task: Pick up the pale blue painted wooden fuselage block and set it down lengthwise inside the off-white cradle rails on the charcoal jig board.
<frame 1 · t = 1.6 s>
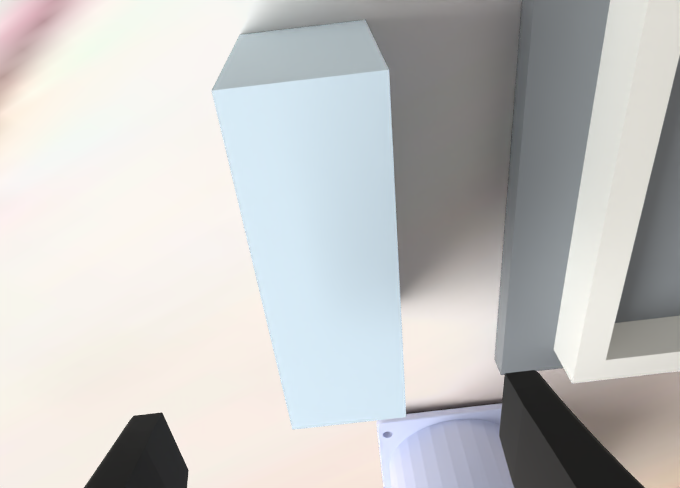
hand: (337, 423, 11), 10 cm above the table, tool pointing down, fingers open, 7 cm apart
fuselage block: (324, 192, 20), on the table
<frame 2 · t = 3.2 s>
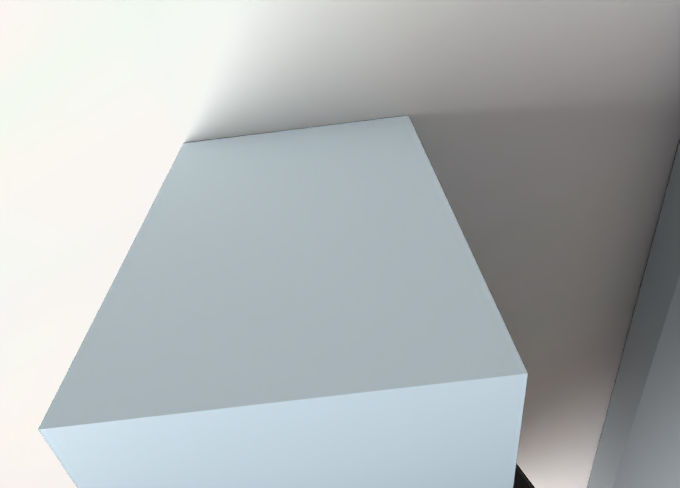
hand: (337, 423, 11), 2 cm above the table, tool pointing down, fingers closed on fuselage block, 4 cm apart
fuselage block: (334, 366, 13), on the table, touching gripper
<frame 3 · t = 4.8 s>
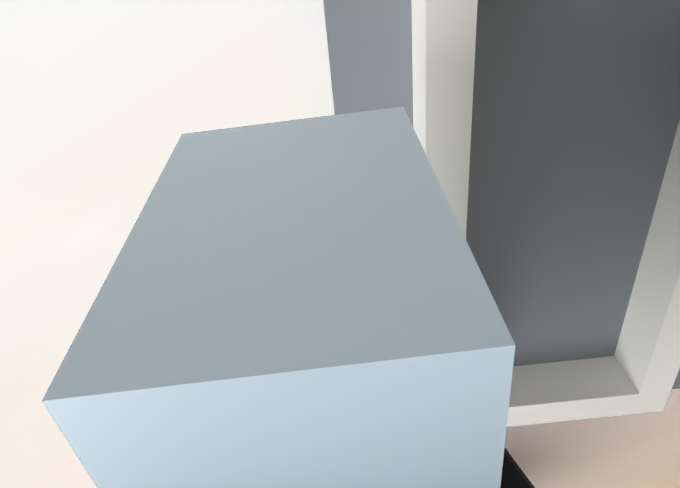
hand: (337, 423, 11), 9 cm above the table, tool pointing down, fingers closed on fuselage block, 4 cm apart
cradle jig: (542, 193, 18), on the table
fuselage block: (331, 357, 13), point 7 cm above the table, touching gripper
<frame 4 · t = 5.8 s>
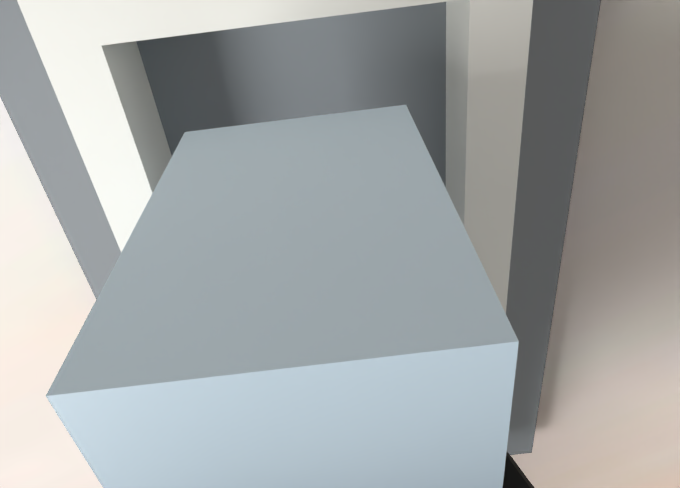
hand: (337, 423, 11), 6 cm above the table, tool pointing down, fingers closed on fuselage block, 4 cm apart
cradle jig: (327, 256, 16), on the table
fuselage block: (333, 355, 13), point 4 cm above the table, touching gripper
when the fingers open (4 cm above the table, at t = 6.6 s): fuselage block drops 1 cm, resting on cradle jig.
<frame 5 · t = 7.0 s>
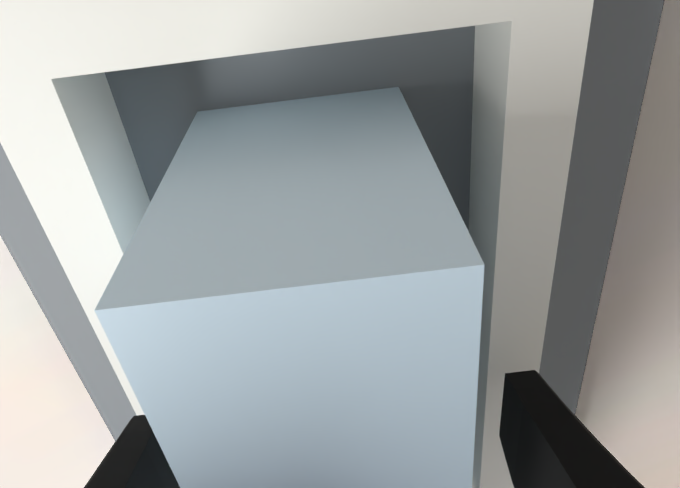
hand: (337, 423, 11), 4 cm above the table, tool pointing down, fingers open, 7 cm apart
cradle jig: (331, 302, 15), on the table
fuselage block: (332, 324, 14), point 1 cm above the table, touching cradle jig
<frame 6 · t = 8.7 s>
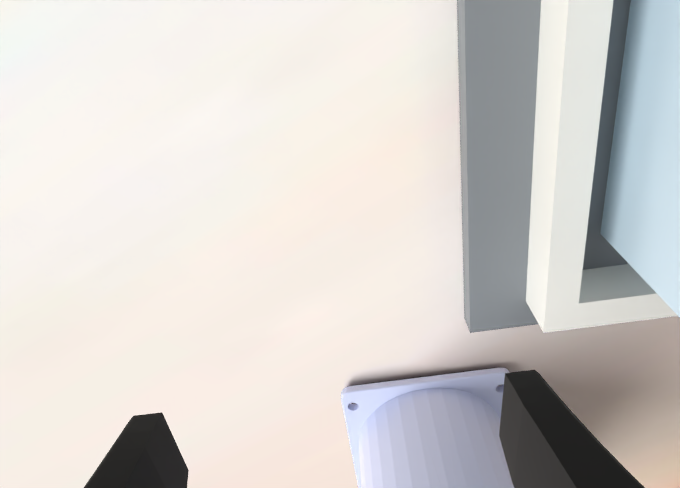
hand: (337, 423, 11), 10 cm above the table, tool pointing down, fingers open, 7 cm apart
cradle jig: (665, 61, 18), on the table
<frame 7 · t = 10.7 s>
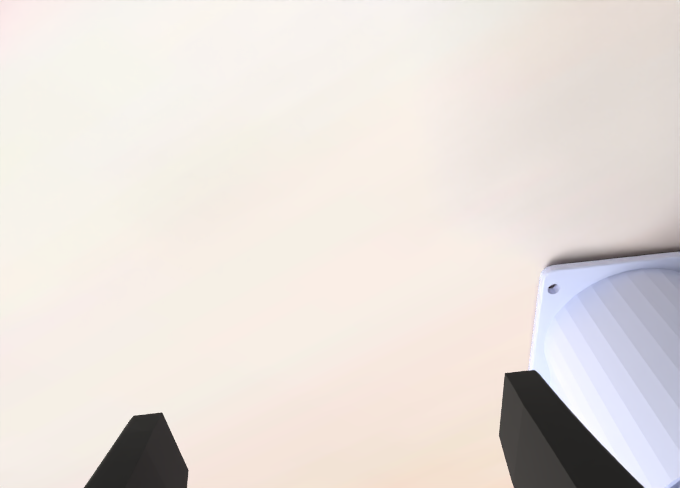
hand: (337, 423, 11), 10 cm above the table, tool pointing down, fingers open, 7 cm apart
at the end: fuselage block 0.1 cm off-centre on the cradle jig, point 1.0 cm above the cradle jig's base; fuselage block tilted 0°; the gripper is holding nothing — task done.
